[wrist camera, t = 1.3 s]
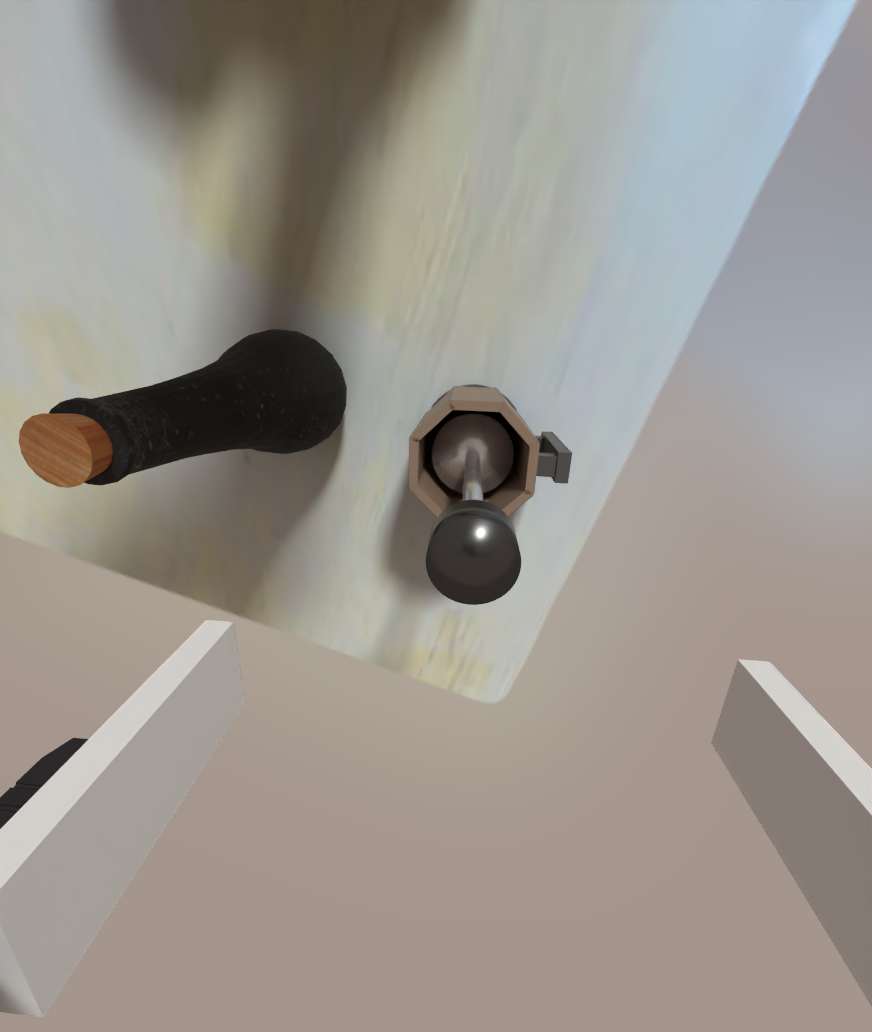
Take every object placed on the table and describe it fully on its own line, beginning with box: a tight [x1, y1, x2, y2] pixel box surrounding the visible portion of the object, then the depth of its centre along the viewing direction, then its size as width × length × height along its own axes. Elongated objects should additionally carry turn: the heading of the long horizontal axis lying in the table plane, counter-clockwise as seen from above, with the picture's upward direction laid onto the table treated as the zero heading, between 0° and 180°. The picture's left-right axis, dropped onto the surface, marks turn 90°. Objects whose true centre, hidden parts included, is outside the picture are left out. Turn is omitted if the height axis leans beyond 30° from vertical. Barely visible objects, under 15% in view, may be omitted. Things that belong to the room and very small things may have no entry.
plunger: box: [426, 413, 521, 605], centre depth 29 cm, size 7×7×21 cm
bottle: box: [19, 330, 347, 488], centre depth 32 cm, size 11×11×30 cm
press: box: [409, 384, 572, 518], centre depth 41 cm, size 10×12×13 cm
